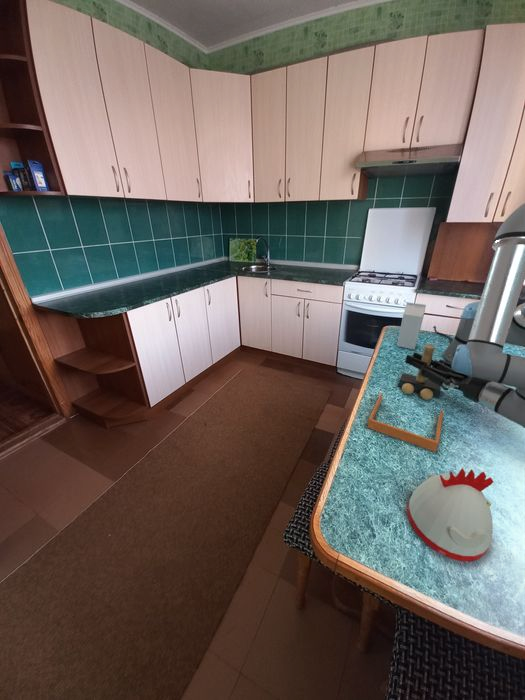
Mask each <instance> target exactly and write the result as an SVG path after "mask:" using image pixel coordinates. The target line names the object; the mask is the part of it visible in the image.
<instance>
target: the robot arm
mask: <svg viewBox="0 0 525 700" xmlns="http://www.w3.org/2000/svg"><path fill="white" fill-rule="evenodd" d="M491 248H492V249H493V251H494V254H493V257H492V261H491V265H490V267H489V270H488V274H487V277H486V281H485V284H484V287H483V290H482V293H481V297H480V299H479V301H475V302H470V303H467V304H466V305H465V306H464V308H463V311H462V313H461V315H460V319H459V323H458V326H457V329H456V331H455V336H454V338H452V337H451V336H450V335H447V334H444V333H442V332H439V331H437V326H436V325H434V326H433V327H432V328H433V331H434V332H435V334H437V335H440V336H443V337H446V338H447V339H449V345H448V346H447V347H446V349H445V350H444V353H443V358H444V359H439V360H437V359H434V360H433V359H432V360H431V363H430V366H428V365H427V363H426V362H423V361H421V359H422V355H423V354H421V353H418V352H416V351H414V352H413V353H412V355H411V354H407V355H406V356H405V360H404V362H405V363H406V364H407V365H409V366H412V367H413V368H415V369H418V370H419V369H420V370H421V372H420V375H422V376H424V377H425V378H426V379H429V380H431V381H432V382H434V383H436V384H438V385H439V386H441V389H442V390H444V391H449V389H454V390H456V391H459V392H462V396H463V397H464V398H465V399H467V400H469V401H471V402H473V403H478V404H479V406H482V407H483V408H486V409H488V410H489V411H491V412H494V413H496V414H498V415H499V416H501V417H503V418H506V419H507V420H509V421H511V422H512V423H515V424H517V425H519V426H521V427H522V428H524V429H525V356H520V355H515V354H514V355H513V354H509V353H505V352H503V350H504V346H505V345H506V344H507V345H512V346H517V347H521V348H525V302H523V303H521V304H519V305H518V302H519V300H520V296H521V293H522V290H523V286H524V283H525V202H524V203H522V204H521V205H520V206H518V207H517V208H516V209H515V210H514V211H512V212H511V213H510V214H509V215H508V216H507V217H506V219H505V220H504V221H503V222H502V224H501V225H500V227H499V229H498V230H497V232H496V234H495V236H494V238H493V242H492V245H491ZM511 387H512V388H511ZM514 388H515V389H514Z"/></svg>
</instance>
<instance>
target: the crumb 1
mask: <svg viewBox="0 0 525 700" xmlns="http://www.w3.org/2000/svg"><path fill="white" fill-rule="evenodd" d="M401 391H402V392H403V394H406V395H411V394H413V393H414V392H415V391H414V387H413V385H411V384H409V383H406V384H404V385H403V386H402V388H401Z"/></svg>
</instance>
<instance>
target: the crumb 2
mask: <svg viewBox="0 0 525 700" xmlns="http://www.w3.org/2000/svg"><path fill="white" fill-rule="evenodd" d="M419 395H420V397H421V399H423V400H425V401H429V400H432V399H433V397H434V396H433V392H432V391H431V390H430V389H423V390H422V391H421V392H420V393H419Z"/></svg>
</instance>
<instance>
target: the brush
mask: <svg viewBox="0 0 525 700" xmlns="http://www.w3.org/2000/svg"><path fill="white" fill-rule="evenodd" d="M435 349H436V347H435V345H433V344H425V345H424V348H423V351H422V354H421V355H422V359H421V361H423V362H426V363H427V365H428V366H430V363H431V360H433V356H434V352H435ZM420 372H421V370H420V369H418V370H417V375H414V374H409V373H405V372H402V373H401V376H400V378H399V382H398V388H401V389H402V386H403V385H404V384H406V383H409V384H411V385H413V387H414V391H413V392H417V393H419V394H420V392H421V391H422V390H423V389H430V390H431V391H432V392H433V397H435V398H439V395H440V392H441V389H442V387H441V386H439V385H438V384H436V383H434V382H432V381H431V380H429V379H427V378H425V377H424V376H422V375H420Z"/></svg>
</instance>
